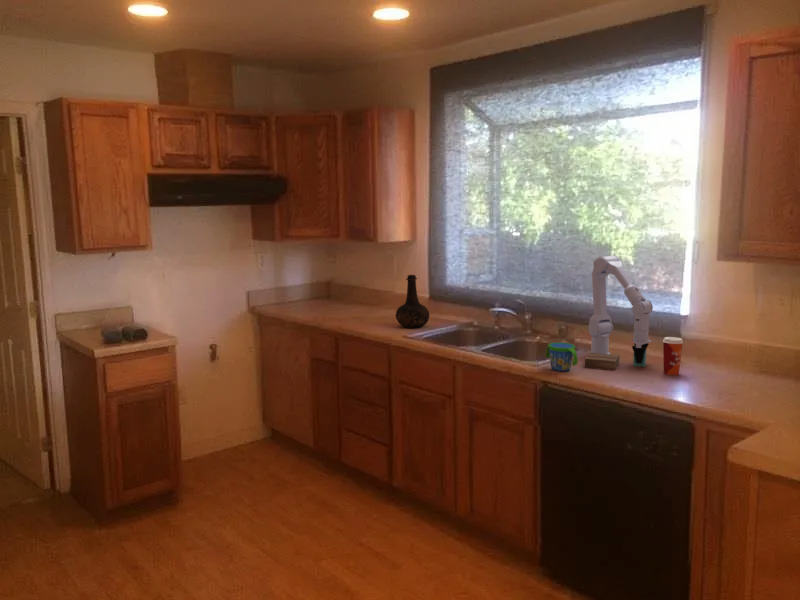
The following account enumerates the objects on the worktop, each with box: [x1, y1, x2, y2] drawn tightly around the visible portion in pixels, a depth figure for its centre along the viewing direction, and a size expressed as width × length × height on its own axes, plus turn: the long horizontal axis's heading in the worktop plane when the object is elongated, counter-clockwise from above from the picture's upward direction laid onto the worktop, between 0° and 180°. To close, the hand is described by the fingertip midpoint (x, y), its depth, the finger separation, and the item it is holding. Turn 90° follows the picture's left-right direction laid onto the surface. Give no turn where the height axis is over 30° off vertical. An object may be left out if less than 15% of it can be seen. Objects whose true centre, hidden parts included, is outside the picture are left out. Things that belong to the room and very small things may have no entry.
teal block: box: [632, 349, 647, 368], centre depth 293 cm, size 4×4×6 cm
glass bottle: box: [395, 274, 430, 329], centre depth 378 cm, size 18×18×28 cm
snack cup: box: [545, 342, 578, 372], centre depth 285 cm, size 16×10×10 cm
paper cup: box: [662, 336, 684, 376], centre depth 279 cm, size 8×8×14 cm
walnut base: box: [584, 352, 620, 371], centre depth 293 cm, size 12×12×4 cm
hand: (639, 361), depth 293 cm, fingers open, 5 cm apart
